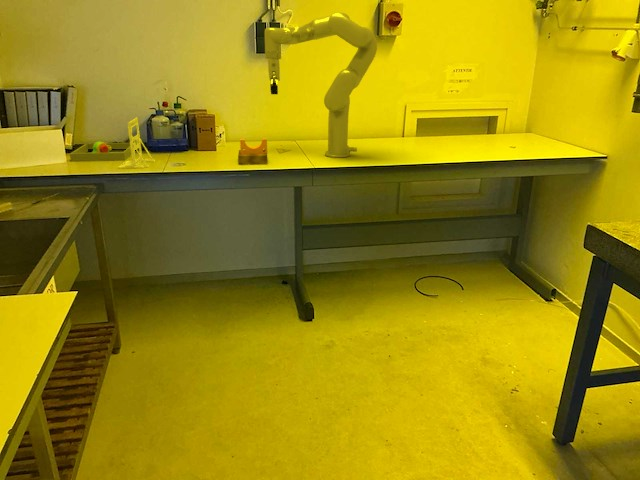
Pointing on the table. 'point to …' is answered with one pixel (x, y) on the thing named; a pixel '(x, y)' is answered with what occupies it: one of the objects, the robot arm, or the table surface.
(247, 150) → the pipe clamp
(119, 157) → the grey square tray
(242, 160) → the walnut block
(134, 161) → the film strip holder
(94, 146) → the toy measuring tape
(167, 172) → the table surface
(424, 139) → the table surface
